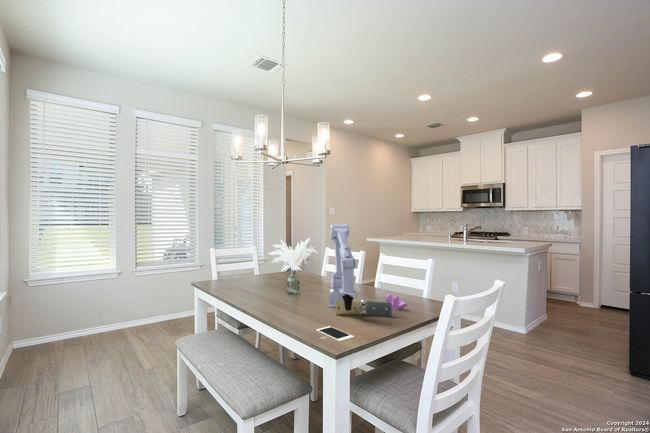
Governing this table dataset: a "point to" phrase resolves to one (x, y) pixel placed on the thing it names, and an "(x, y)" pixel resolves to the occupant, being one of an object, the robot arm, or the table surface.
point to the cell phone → (335, 333)
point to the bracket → (395, 302)
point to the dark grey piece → (377, 308)
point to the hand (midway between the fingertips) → (348, 310)
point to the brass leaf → (354, 310)
